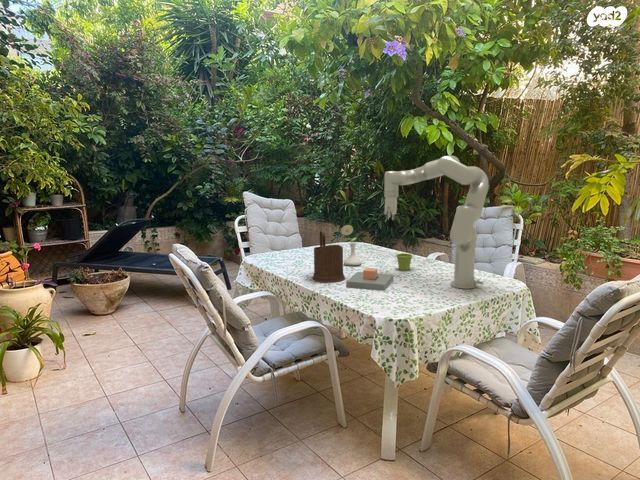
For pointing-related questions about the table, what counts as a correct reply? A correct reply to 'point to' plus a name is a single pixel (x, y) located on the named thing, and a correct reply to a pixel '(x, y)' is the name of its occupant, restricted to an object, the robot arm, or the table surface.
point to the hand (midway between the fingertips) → (390, 227)
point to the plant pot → (404, 261)
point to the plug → (370, 273)
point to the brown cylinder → (328, 262)
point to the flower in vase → (352, 258)
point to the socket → (370, 281)
